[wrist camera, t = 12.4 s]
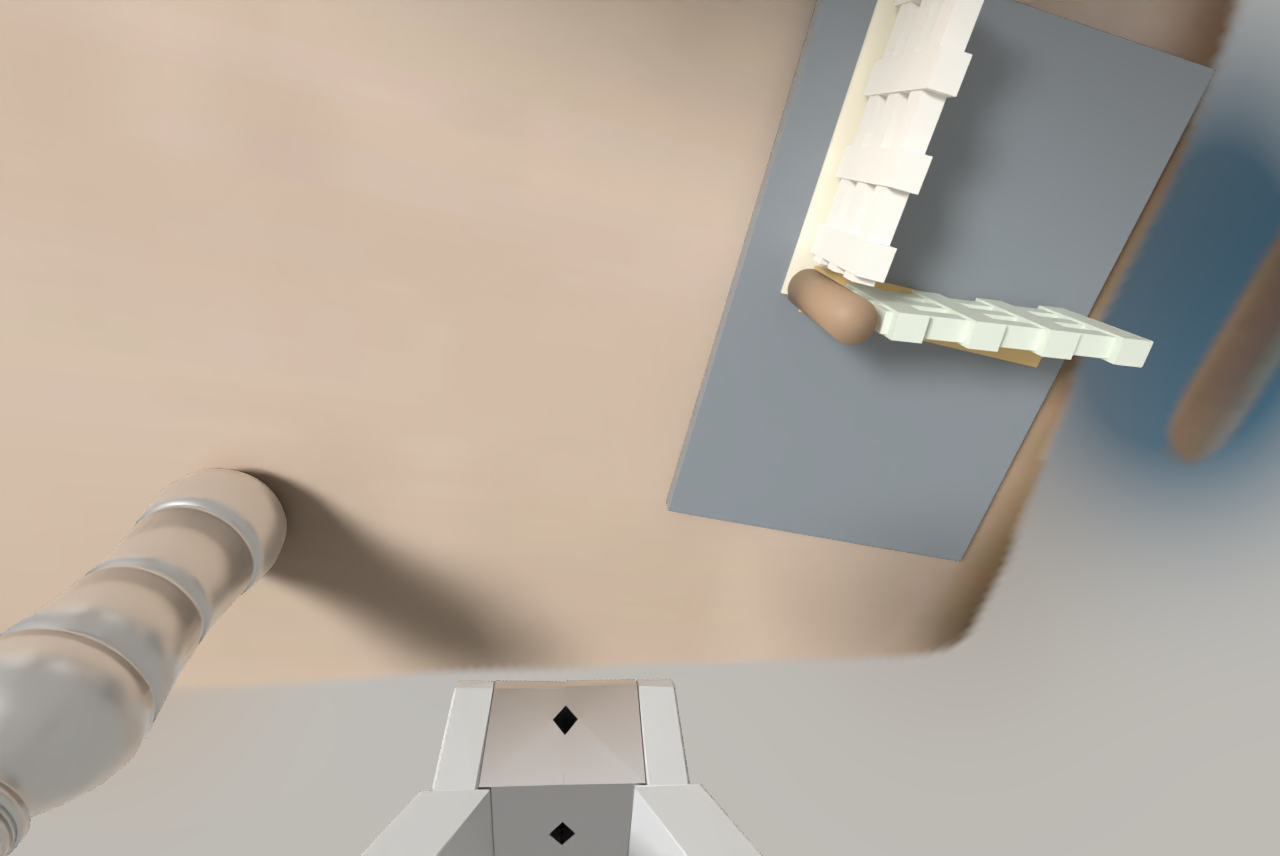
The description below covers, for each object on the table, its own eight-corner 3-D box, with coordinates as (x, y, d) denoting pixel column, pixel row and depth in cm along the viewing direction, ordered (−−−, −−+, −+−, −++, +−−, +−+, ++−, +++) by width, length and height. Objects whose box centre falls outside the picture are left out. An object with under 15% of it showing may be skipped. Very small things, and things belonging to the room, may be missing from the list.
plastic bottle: (185, 553, 38) (-179, 942, 20) (167, 447, 35) (-273, 785, 17) (304, 560, 39) (59, 940, 21) (295, 457, 36) (5, 790, 18)
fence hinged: (834, 305, 33) (884, 339, 28) (840, 281, 33) (892, 311, 28) (1054, 330, 35) (1141, 367, 30) (1063, 308, 35) (1153, 341, 29)
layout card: (833, -53, 28) (842, -60, 27) (1197, 71, 32) (1218, 69, 31) (666, 502, 39) (668, 512, 38) (951, 552, 42) (961, 563, 41)
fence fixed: (892, -32, 28) (975, -75, 22) (934, -18, 28) (1027, -56, 23) (781, 302, 34) (823, 339, 28) (817, 311, 34) (867, 349, 28)
